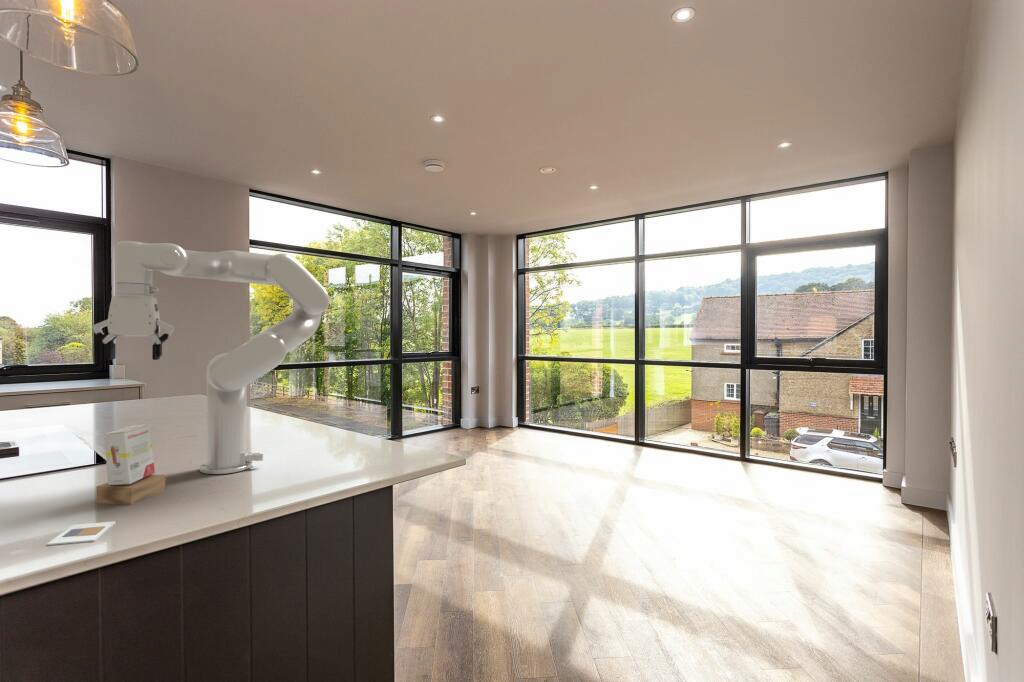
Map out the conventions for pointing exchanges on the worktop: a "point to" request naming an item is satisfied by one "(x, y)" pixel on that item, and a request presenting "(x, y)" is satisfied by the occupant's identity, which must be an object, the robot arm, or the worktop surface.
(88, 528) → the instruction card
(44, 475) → the worktop surface
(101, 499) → the base block
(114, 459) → the ink box
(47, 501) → the worktop surface
